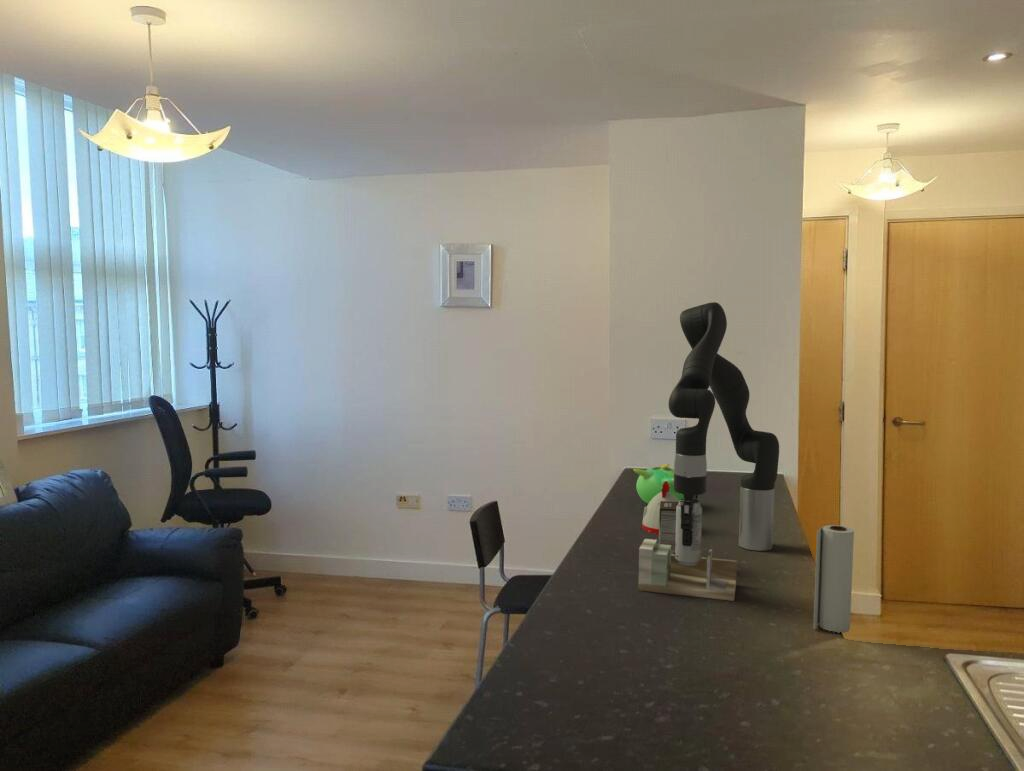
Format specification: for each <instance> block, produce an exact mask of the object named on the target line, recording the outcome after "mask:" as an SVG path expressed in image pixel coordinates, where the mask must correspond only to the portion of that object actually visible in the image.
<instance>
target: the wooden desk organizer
mask: <svg viewBox="0 0 1024 771" xmlns="http://www.w3.org/2000/svg"><path fill="white" fill-rule="evenodd" d="M737 562H738V561H737V560H736V559H735V560H734V559H724V558H715V557H714V558H713V549H712V548H711V549H709V550H708V554H707V557H704V556H701V560H700V561H699V562H698V565H694V566H686V565H681V564H679V563H678V562H677V560H676V559H675V555H674V554H671V545H664V544H659V543H658V539H653V538H652V539H651V538H644V540H643V541H642V543H641V545H640V546H639V548H638V584H637V591H640V592H641V591H642V592H652V593H658V594H659V593H660V594H668V595H669V594H670V595H678V596H687V597H695V598H696V597H697V598H705V599H713V600H714V599H715V600H724V601H729V602H730V601H732V602H734V601H735V597H736V596H735V594H736V587H737V565H738V564H737Z"/></svg>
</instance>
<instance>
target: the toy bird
mask: <svg viewBox="0 0 1024 771" xmlns="http://www.w3.org/2000/svg"><path fill="white" fill-rule="evenodd" d="M669 466H670V463H666V464H661V465H659V466H652V467H651V468H647V469H646V470H645V469H641V468H633V469H632V470H633V472H634V473H636V474H638V475H639V476H638V478H637V480H636V486H635V489H636V492H637V493H638V494H637V495H638V497H640V499H641V500H642V501H643V502H644V503H646V504H647V505H648V504H649V502H650V501H651V500H652V498H653V497H654V496H656V495H657V494H659V493H660V492H662V489H663V484H664V482H665V481H668V484H669V487H670V489H669V492H670V493H672V494H673V495H675V496H676V497H677V498H678V499H679V500H680V499H682V498H684V495H683V494H679V493H677V492H675V491H674V468H672V467H669Z"/></svg>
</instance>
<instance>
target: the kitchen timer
mask: <svg viewBox="0 0 1024 771" xmlns="http://www.w3.org/2000/svg"><path fill="white" fill-rule="evenodd" d="M669 489H670V487H669V484H668V481H665V482H664V484H663V489H662V492H660V493H659V494H657V495H656V496H654V497H653V498H652V500H651V501H650V502H649V504H648V503H647V506H644V509H643V514H642V517H643V518H642V523H641V525H642V526H641V528H643V529H644V530H646V531H648V532H647V533H649V532H651V533H650V534H653V533H656V534H655V535H659V515H660V501H671V502H679V499H678V498H677V497H676V496H675V495H673V494H672V493H670V492H669ZM643 529H642V530H643ZM644 530H643V531H644ZM646 531H645V532H646Z"/></svg>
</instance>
